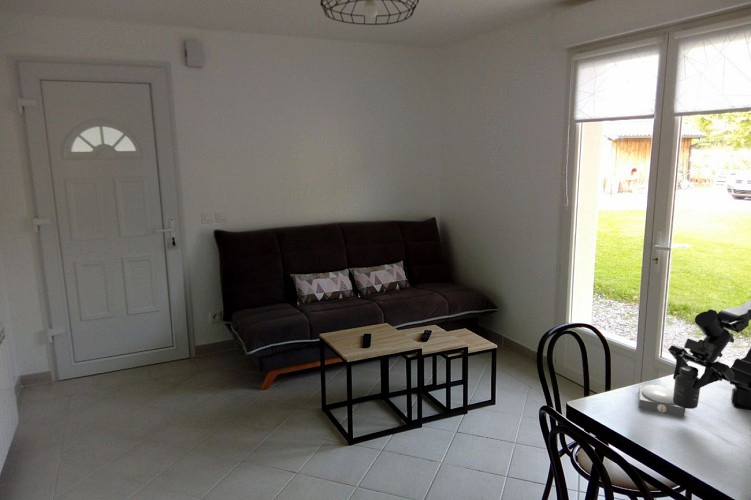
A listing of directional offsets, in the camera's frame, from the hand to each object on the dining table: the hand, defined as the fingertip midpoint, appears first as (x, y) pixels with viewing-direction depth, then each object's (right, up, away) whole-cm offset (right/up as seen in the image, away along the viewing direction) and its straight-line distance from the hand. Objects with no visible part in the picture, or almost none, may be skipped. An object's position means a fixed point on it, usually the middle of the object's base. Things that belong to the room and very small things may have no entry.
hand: (684, 383), depth 160 cm
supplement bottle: (+1, -7, +2) cm, 7 cm away
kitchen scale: (+1, -10, +15) cm, 18 cm away
